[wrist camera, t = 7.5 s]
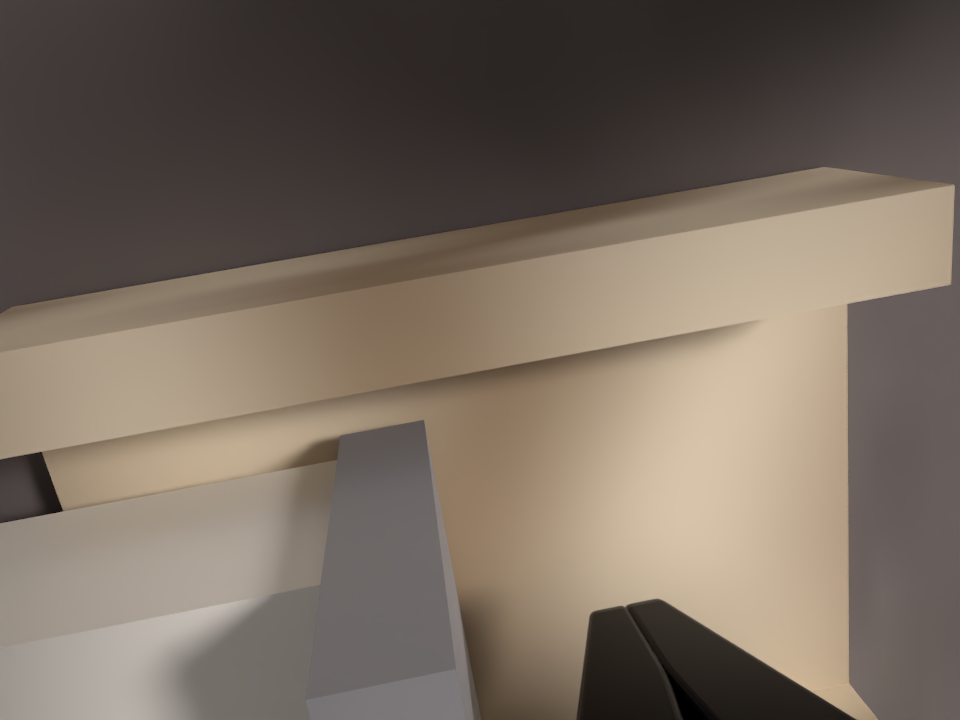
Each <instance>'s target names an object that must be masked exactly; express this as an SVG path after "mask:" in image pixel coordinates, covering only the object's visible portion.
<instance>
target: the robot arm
mask: <svg viewBox="0 0 960 720" xmlns="http://www.w3.org/2000/svg"><path fill="white" fill-rule="evenodd" d="M576 720H857V719H855V718H853V717H852V716H850V715H848V714H847V713H845V712H844V711H842V710H840V709H839V708H837V707H835V706H834V705H832V704H831V703H829V702H827V701H826V700H824V699H823V698H821V697H819V696H818V695H816V694H814V693H813V692H811V691H810V690H808V689H806V688H805V687H803V686H801V685H800V684H798V683H797V682H795V681H793V680H792V679H790V678H789V677H787V676H785V675H784V674H782V673H780V672H779V671H777V670H776V669H774V668H772V667H771V666H769V665H767V664H766V663H764V662H763V661H761V660H759V659H758V658H756V657H755V656H753V655H751V654H750V653H748V652H746V651H745V650H743V649H742V648H740V647H738V646H737V645H735V644H734V643H732V642H730V641H729V640H727V639H725V638H724V637H722V636H721V635H719V634H717V633H716V632H714V631H712V630H711V629H709V628H708V627H706V626H704V625H703V624H701V623H700V622H698V621H696V620H695V619H693V618H691V617H690V616H688V615H687V614H685V613H683V612H682V611H680V610H678V609H677V608H675V607H674V606H672V605H670V604H669V603H667V602H666V601H664V600H661V599H651V600H646V601H641V602H636V603H631V604H628V605H626V607H625V606H616V607H611V608H606V609H600V610H595V611H593V612H592V613H591V614H590V616H589V623H588V631H587V639H586V647H585V655H584V663H583V671H582V679H581V686H580V694H579V702H578V710H577V718H576Z"/></svg>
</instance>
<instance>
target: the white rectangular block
mask: <svg viewBox="0 0 960 720" xmlns="http://www.w3.org/2000/svg"><path fill="white" fill-rule="evenodd" d="M0 720H481V716H480V710H479V705H478V700H477V695H476V689H475V684H474V679H473V674H472V668H471V663H470V658H469V653H468V647H467V642H466V637H465V632H464V626H463V621H462V616H461V611H460V605H459V600H458V595H457V590H456V584H455V579H454V574H453V569H452V563H451V558H450V553H449V548H448V542H447V537H446V532H445V527H444V521H443V516H442V511H441V506H440V500H439V495H438V490H437V485H436V479H435V474H434V469H433V464H432V458H431V453H430V448H429V443H428V437H427V432H426V427H425V422H424V420H420V421H415V422H410V423H404V424H399V425H394V426H388V427H383V428H377V429H372V430H367V431H361V432H356V433H351V434H345V435H340V442H339V449H338V457H337V460H334V461H329V462H323V463H318V464H313V465H307V466H302V467H297V468H291V469H286V470H281V471H276V472H270V473H265V474H260V475H254V476H249V477H244V478H238V479H233V480H228V481H223V482H217V483H212V484H207V485H201V486H196V487H191V488H185V489H180V490H175V491H170V492H164V493H159V494H154V495H148V496H143V497H138V498H132V499H127V500H122V501H117V502H111V503H106V504H101V505H95V506H90V507H85V508H79V509H74V510H69V511H63V512H58V513H53V514H48V515H42V516H37V517H32V518H26V519H21V520H16V521H10V522H5V523H0Z"/></svg>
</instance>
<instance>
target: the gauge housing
mask: <svg viewBox="0 0 960 720" xmlns="http://www.w3.org/2000/svg"><path fill="white" fill-rule="evenodd" d="M954 191H955V185H953V184H945V183H938V182H931V181H924V180H916V179H909V178H902V177H894V176H887V175H880V174H873V173H865V172H858V171H851V170H844V169H836V168H829V167H821V168H815V169H809V170H804V171H798V172H792V173H786V174H780V175H775V176H769V177H763V178H757V179H751V180H746V181H740V182H734V183H728V184H722V185H717V186H711V187H705V188H699V189H693V190H688V191H682V192H676V193H670V194H664V195H659V196H653V197H647V198H641V199H635V200H629V201H624V202H618V203H612V204H606V205H600V206H595V207H589V208H583V209H577V210H571V211H566V212H560V213H554V214H548V215H542V216H537V217H531V218H525V219H519V220H513V221H508V222H502V223H496V224H490V225H484V226H479V227H473V228H467V229H461V230H455V231H450V232H444V233H438V234H432V235H426V236H421V237H415V238H409V239H403V240H397V241H392V242H386V243H380V244H374V245H368V246H363V247H357V248H351V249H345V250H339V251H334V252H328V253H322V254H316V255H310V256H305V257H299V258H293V259H287V260H281V261H276V262H270V263H264V264H258V265H252V266H247V267H241V268H235V269H229V270H223V271H218V272H212V273H206V274H200V275H194V276H189V277H183V278H177V279H171V280H165V281H159V282H154V283H148V284H142V285H136V286H130V287H125V288H119V289H113V290H107V291H101V292H96V293H90V294H84V295H78V296H72V297H67V298H61V299H55V300H49V301H43V302H38V303H32V304H26V305H20V306H14V307H11V308H10V309H8V310H6V311H4V312H2V313H0V459H5V458H10V457H15V456H21V455H26V454H32V453H37V452H42V454H43V457H44V460H45V462H46V465H47V468H48V471H49V473H50V476H51V479H52V482H53V484H54V487H55V490H56V493H57V495H58V498H59V501H60V504H61V506H62V509H63V511H69V510H74V509H79V508H85V507H90V506H95V505H101V504H106V503H111V502H117V501H122V500H127V499H132V498H138V497H143V496H148V495H154V494H159V493H164V492H170V491H175V490H180V489H185V488H191V487H196V486H201V485H207V484H212V483H217V482H223V481H228V480H233V479H238V478H244V477H249V476H254V475H260V474H265V473H270V472H276V471H281V470H286V469H291V468H297V467H302V466H307V465H313V464H318V463H323V462H329V461H334V460H337V457H338V449H339V442H340V435H345V434H351V433H356V432H361V431H367V430H372V429H377V428H383V427H388V426H394V425H399V424H404V423H410V422H415V421H420V420H424V422H425V427H426V432H427V437H428V443H429V448H430V453H431V458H432V464H433V469H434V474H435V479H436V485H437V490H438V495H439V500H440V506H441V511H442V516H443V521H444V527H445V532H446V537H447V542H448V548H449V553H450V558H451V563H452V569H453V574H454V579H455V584H456V590H457V595H458V600H459V605H460V611H461V616H462V621H463V626H464V632H465V637H466V642H467V647H468V653H469V658H470V663H471V668H472V674H473V679H474V684H475V689H476V695H477V700H478V705H479V710H480V716H481V720H576V718H577V710H578V702H579V694H580V686H581V679H582V671H583V663H584V655H585V647H586V639H587V631H588V623H589V616H590V614H591V613H592V612H593V611H595V610H600V609H606V608H611V607H616V606H625V607H626V605H628V604H631V603H636V602H641V601H646V600H651V599H661V600H664V601H666V602H667V603H669V604H670V605H672V606H674V607H675V608H677V609H678V610H680V611H682V612H683V613H685V614H687V615H688V616H690V617H691V618H693V619H695V620H696V621H698V622H700V623H701V624H703V625H704V626H706V627H708V628H709V629H711V630H712V631H714V632H716V633H717V634H719V635H721V636H722V637H724V638H725V639H727V640H729V641H730V642H732V643H734V644H735V645H737V646H738V647H740V648H742V649H743V650H745V651H746V652H748V653H750V654H751V655H753V656H755V657H756V658H758V659H759V660H761V661H763V662H764V663H766V664H767V665H769V666H771V667H772V668H774V669H776V670H777V671H779V672H780V673H782V674H784V675H785V676H787V677H789V678H790V679H792V680H793V681H795V682H797V683H798V684H800V685H801V686H803V687H805V688H806V689H808V690H810V691H811V692H813V693H814V694H816V695H818V696H819V697H821V698H823V699H824V700H826V701H827V702H829V703H831V704H832V705H834V706H835V707H837V708H839V709H840V710H842V711H844V712H845V713H847V714H848V715H850V716H852V717H853V718H855V719H857V720H878V719H877V718H876V716H875V715H874V714H873V713H872V711H871V710H870V709H869V708H868V706H867V705H866V704H865V703H864V701H863V700H862V699H861V698H860V696H859V695H858V694H857V693H856V691H855V690H854V689H853V688H852V687H851V685H850V684H849V593H848V382H847V304H848V303H854V302H859V301H864V300H870V299H875V298H881V297H886V296H892V295H897V294H903V293H908V292H913V291H919V290H924V289H930V288H935V287H941V286H946V285H951V269H952V243H953V217H954Z"/></svg>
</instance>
